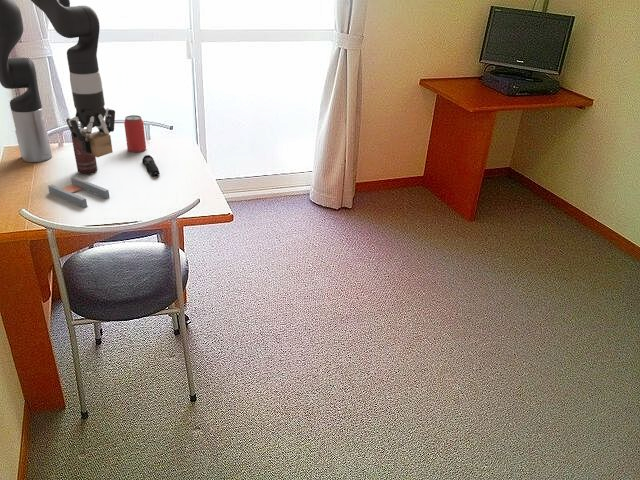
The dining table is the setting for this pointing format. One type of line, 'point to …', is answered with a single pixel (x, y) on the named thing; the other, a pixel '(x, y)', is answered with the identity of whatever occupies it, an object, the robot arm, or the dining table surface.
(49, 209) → the dining table surface
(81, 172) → the can
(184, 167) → the dining table surface
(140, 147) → the beer can
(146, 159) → the electric trimmer
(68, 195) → the channel
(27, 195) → the dining table surface
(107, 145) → the block
